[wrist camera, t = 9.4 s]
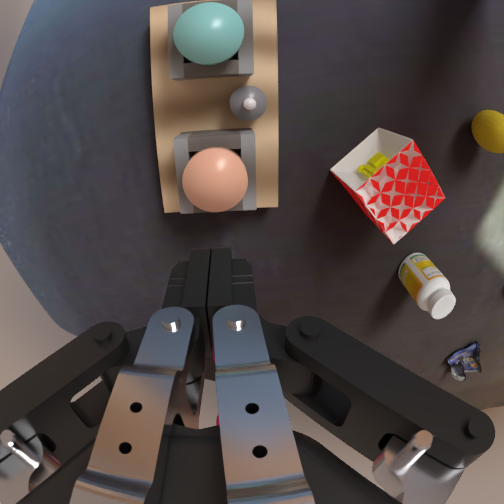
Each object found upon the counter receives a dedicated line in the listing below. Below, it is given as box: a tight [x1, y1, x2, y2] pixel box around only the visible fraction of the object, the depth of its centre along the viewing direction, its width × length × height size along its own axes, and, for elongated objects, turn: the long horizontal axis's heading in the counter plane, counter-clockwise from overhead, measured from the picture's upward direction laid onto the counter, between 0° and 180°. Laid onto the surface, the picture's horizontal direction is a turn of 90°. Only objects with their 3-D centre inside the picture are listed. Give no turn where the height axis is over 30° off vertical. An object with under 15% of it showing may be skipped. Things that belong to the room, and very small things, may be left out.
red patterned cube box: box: [330, 128, 445, 244], centre depth 31 cm, size 8×8×8 cm
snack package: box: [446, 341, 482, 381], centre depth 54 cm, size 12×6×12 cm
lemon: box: [472, 110, 504, 153], centre depth 28 cm, size 6×6×8 cm
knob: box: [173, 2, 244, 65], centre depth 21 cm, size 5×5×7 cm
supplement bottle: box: [398, 253, 456, 319], centre depth 37 cm, size 5×5×10 cm
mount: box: [150, 0, 278, 214], centre depth 26 cm, size 22×12×8 cm, turn 1°
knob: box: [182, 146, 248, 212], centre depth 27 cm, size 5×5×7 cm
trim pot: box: [230, 86, 267, 121], centre depth 25 cm, size 3×3×5 cm
